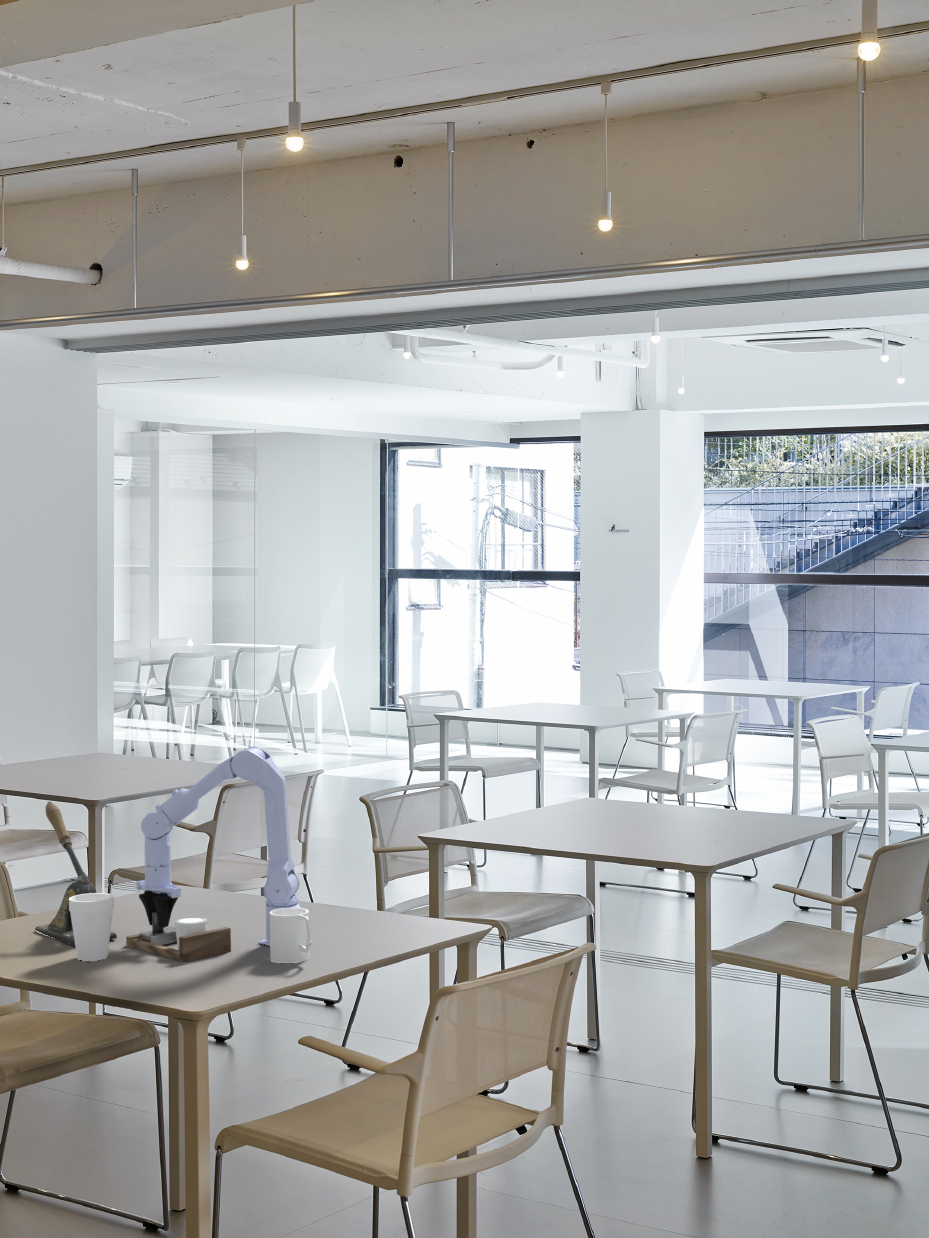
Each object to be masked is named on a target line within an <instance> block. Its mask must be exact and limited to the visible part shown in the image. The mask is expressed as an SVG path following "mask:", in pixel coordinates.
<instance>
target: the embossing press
mask: <svg viewBox="0 0 929 1238" xmlns="http://www.w3.org/2000/svg"><path fill="white" fill-rule="evenodd" d="M45 815H46V818H47V820H48V821H49V823H50V825H51V826H52V828H53V829H54V831H55V834H56V836H57V839H58V842H59V843H60V845H61V846H62V847H63V849H65V850H66V853H67V855H68V856H69V859H70V862H71V865H72V866H73V868H74V870H75V873H76V875H77V880H76V881H74V882H72V883H70V884H69V886H67V888H66V890H65V892H64V895H63V899H62V901H61V904H60V907H59V909H58V911H57V913H56V914H55V916H54V918H53V919H52V920H51V921H50V923H47V924H42V925H38V926H35V928H34V931H35V930H37V931H39V932H41V933H43V934H45V935H48V936H50V937H53V938H55V939H58V940H60V941H59V942H61V941H62V942H61V943H64V944H68V945H70V946H74V947H75V940H74V933H73V927H72V920H71V913H70V911H69V898H70V897H72V896H76V895H80V894H88V893H98V892H97V890H96V886H95V885H94V883H92V882H91V881H89V879H88V876H87V874H86V872H84V870H83V867H82V866H81V863H80V861H79V859H78V857H77V856H76V853H75V851H74V849H73V847H72V846H73V843H72V838H71V835H70V833H69V831H68V830H67V828H66V826H65V825H66V824H65V822H64V819H63V816H62V813H61V810H60V808H59V807H58V806H57V805H56V804H55V803H54V802H52V801H47V803H46V805H45ZM117 938H118V936H117V934H116V932H113V931H110V940H112V939H113V940H116V939H117ZM55 939H54V940H55ZM58 940H57V941H58Z"/></svg>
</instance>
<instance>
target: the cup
mask: <svg viewBox="0 0 929 1238" xmlns="http://www.w3.org/2000/svg"><path fill="white" fill-rule="evenodd" d="M309 913H310V911H309V909H307V908H304V909H303V907H302V908H281V909H276V910H272V911H270V946H269V954H270V955H269V956H270V957H269V959H271V960H273V961H277V962H281V963H282V962H285V963H287V962H288V963H291V962H297V961H302V960H306V959H308V958H309V959H310V949H311V948H310V947H311V945H310V944H311V943H310V941H311V925H310V919H309V918H310V917H309ZM271 960H270V961H271Z"/></svg>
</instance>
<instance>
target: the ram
mask: <svg viewBox="0 0 929 1238" xmlns="http://www.w3.org/2000/svg"><path fill="white" fill-rule="evenodd" d="M151 927H152V928H151V929H152V930H149V931H146V932H145V931H144V932H140V933H138V934H139V940H143V941H147V942H150V943H154V944H158V945H161V946H164V945H167V944H173V943H177V937H176V928H175V927H174V928H172V926H168V927H163V928H159V926H158V920H157V911H152V925H151Z"/></svg>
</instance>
